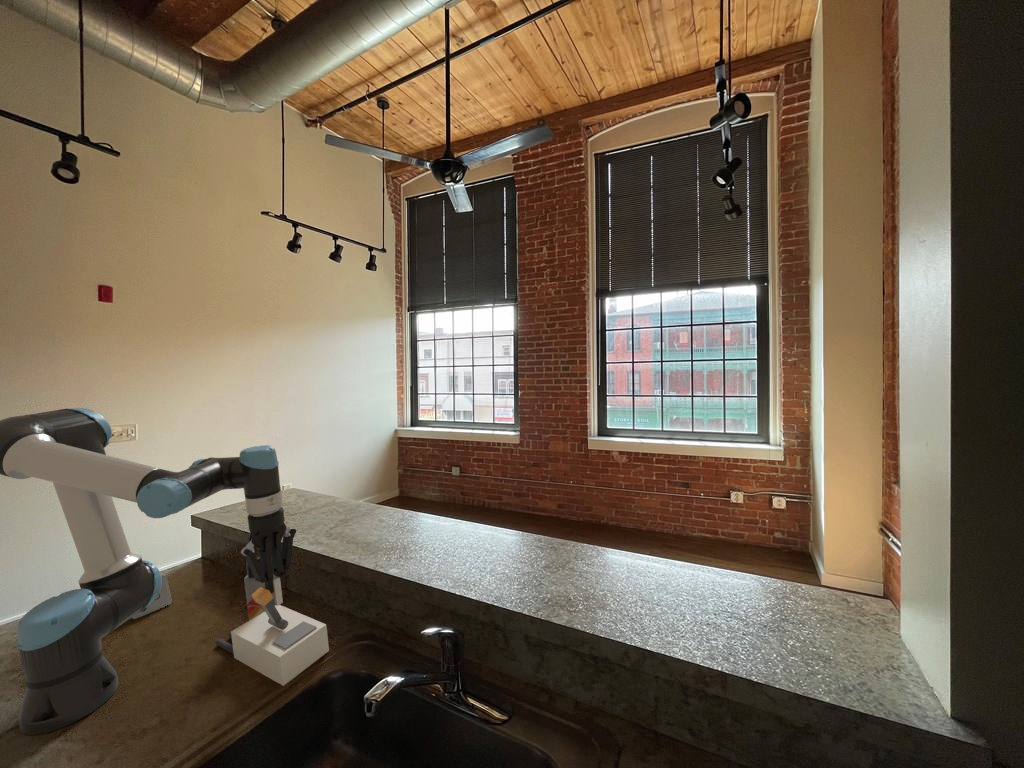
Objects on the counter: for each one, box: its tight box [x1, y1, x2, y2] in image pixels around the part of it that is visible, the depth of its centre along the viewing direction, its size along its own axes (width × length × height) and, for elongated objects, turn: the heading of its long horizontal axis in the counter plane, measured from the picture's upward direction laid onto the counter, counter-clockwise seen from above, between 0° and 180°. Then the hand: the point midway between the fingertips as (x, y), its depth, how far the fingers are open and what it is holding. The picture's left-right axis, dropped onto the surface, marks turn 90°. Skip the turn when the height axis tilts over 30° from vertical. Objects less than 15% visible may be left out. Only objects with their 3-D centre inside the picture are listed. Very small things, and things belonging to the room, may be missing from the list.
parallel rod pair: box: [215, 631, 234, 655], centre depth 109 cm, size 9×4×1 cm, turn 61°
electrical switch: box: [131, 574, 173, 620], centre depth 127 cm, size 9×5×9 cm, turn 141°
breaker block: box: [230, 604, 330, 687], centre depth 105 cm, size 20×12×7 cm, turn 61°
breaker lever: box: [251, 587, 288, 630], centre depth 103 cm, size 5×2×11 cm, turn 61°
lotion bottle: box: [243, 555, 265, 621], centre depth 115 cm, size 6×6×20 cm
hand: (276, 602), depth 104 cm, fingers closed
